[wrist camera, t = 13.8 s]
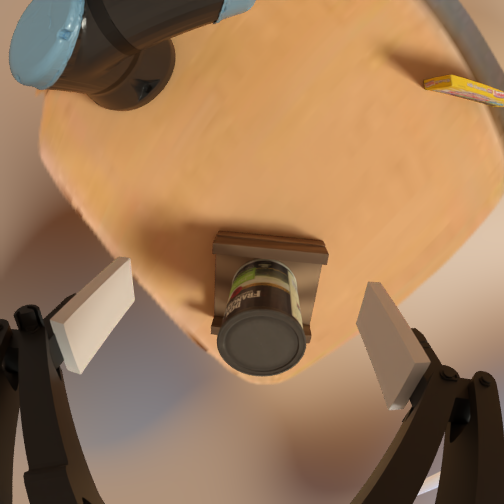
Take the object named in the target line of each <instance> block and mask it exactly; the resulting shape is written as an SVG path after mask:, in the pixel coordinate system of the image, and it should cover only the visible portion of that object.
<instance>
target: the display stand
mask: <svg viewBox="0 0 504 504" xmlns="http://www.w3.org/2000/svg"><path fill="white" fill-rule="evenodd" d="M213 254H216V269H215V308H214V319H213V322H212V325H211V334H214V335H218V332H219V330H220V327H221V325H222V321H223V317H224V313H225V309H226V306H227V302H228V298H229V294H230V291H231V287H232V281H233V278H234V275H235V274H236V272H237V271H238V270H239V268H240V267H241V266H243V265H244V264H246V263H248V262H250V261H252V260H256V259H270V260H276V261H279V262H281V263H283V264H284V265H285V266H287V267H288V268H289V269H290V270H291V271H292V273H293V274H294V276H295V279H296V282H297V291H298V298H299V305H300V311H301V317H302V325H303V330H304V333H305V337H306V343H310V339H311V330H310V321H311V316H312V311H313V307H314V302H315V297H316V292H317V287H318V282H319V277H320V272H321V267H322V264H323V265H327V261H328V256H329V254H328V252H327V250H326V248H325V244H324V242H323V241H318V240H308V239H299V238H289V237H279V236H269V235H258V234H248V233H237V232H226V231H219V232H218V234H217V237H216V238H215V240H214V242H213Z"/></svg>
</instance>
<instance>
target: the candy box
mask: <svg viewBox="0 0 504 504" xmlns="http://www.w3.org/2000/svg"><path fill="white" fill-rule="evenodd" d="M424 87H425V90H430V91H435V92H440V93H444V94H448V95H453V96H457V97H460V98H464V99H468V100H472V101H476V102H479V103H483V104H486V105H489V106H492V107H504V92H503V91H501V90H498V89H495V88H492V87H490V86H487V85H484V84H481V83H478V82H475V81H472V80H469V79H466V78H463V77H459V76H455V75H452V74H451V75H445V76H440V77H435V78H431V79H426V80H424Z"/></svg>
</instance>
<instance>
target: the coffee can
mask: <svg viewBox="0 0 504 504" xmlns="http://www.w3.org/2000/svg"><path fill="white" fill-rule="evenodd" d="M217 347H218V350H219V353H220V355H221V357H222V358H223V359H224V361H225V362H226V363H227V364H228V365H230V366H231V367H232V368H234V369H236V370H237V371H240V372H242V373H245V374H248V375H252V376H272V375H277V374H280V373H283V372H285V371H287V370H289V369H291V368H292V367H294V366H295V365H296V364H297V363H298V362H299V361H300V360H301V358H302V357H303V355H304V352H305V349H306V337H305V333H304V330H303V325H302V317H301V311H300V305H299V298H298V291H297V282H296V279H295V276H294V274H293V273H292V271H291V270H290V269H289V268H288V267H287V266H285V265H284V264H283V263H281V262H279V261H276V260H270V259H256V260H252V261H250V262H248V263H246V264H244V265H243V266H241V267H240V268H239V270H238V271H237V272H236V274H235V275H234V278H233V281H232V287H231V291H230V294H229V298H228V302H227V306H226V309H225V313H224V317H223V321H222V325H221V327H220V330H219V332H218V336H217Z"/></svg>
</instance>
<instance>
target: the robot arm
mask: <svg viewBox="0 0 504 504" xmlns="http://www.w3.org/2000/svg"><path fill="white" fill-rule="evenodd" d="M255 1H256V0H33V1H32V2H31V3H30V4H29V5H28V7H27V8H26V10H25V11H24V13H23V15H22V16H21V18H20V20H19V22H18V24H17V26H16V29H15V31H14V33H13V37H12V40H11V45H10V50H9V65H10V69H11V73H12V75H13V77H14V78H15V79H16V80H17V81H18V82H19V83H21V84H23V85H26V86H32V87H35V88H37V89H39V90H44V89H51V90H61V91H70V92H77V93H83V94H87V95H88V96H89V97H90V98H92V99H93V100H94V101H95V102H96V103H97V104H98V105H100V106H102V107H104V108H106V109H110V110H117V111H129V110H133V109H137V108H139V107H141V106H143V105H145V104H147V103H149V102H150V101H151V100H153V99H154V98H155V97H156V96H157V95H158V94H159V93H160V92H161V91H162V90H163V89H164V87H165V86H166V84H167V83H168V81H169V79H170V77H171V75H172V72H173V69H174V65H175V49H174V45H173V43H172V41H171V39H170V38H173V37H175V36H178V35H180V34H183V33H185V32H188V31H190V30H193V29H196V28H199V27H202V26H204V25H207V24H210V23H213V24H216V23H219V22H220V21H221V20H223V19H226V18H229V17H232V16H235V15H238V14H241V13H244V12H246V11H248V10H249V9H250V8H251V7H252V6H253V5H254V3H255ZM134 301H135V298H134V290H133V281H132V271H131V260H130V258H126V257H118V258H117V259H115V260H114V261H113V262H112V263H111V264H110V265H108V266H107V267H106V268H105V269H104V270H103V271H102V272H100V273H99V274H98V275H97V276H96V277H95V278H94V279H93V280H91V281H90V282H89V283H88V284H87V285H86V286H85V287H84V288H83V289H82V290H80V291H79V292H78V293H77V294H73V295H71V296H69V297H67V298H65V299H64V301H62V302H61V304H59V305H58V306H57V307H56V309H54V310H53V311H52V312H51V313H50V314H48V316H46V318H44V319H42V315H41V312H40V309H39V307H38V306H36V305H25V306H22V307H21V308H19V309H18V310H17V311H16V312H15V313H14V318H15V321H16V323H17V326H18V328H19V330H14V329H11V328H10V326H9V323H8V321H7V320H4V319H0V504H12V476H13V457H14V456H13V455H14V445H15V435H16V427H17V420H18V414H19V408H20V412H21V421H22V429H23V437H24V444H25V450H26V455H27V461H28V465H29V471H27V472H25V473H24V483H25V487H26V491H27V495H28V499H29V502H30V504H105V503H104V502H103V500H102V499H101V497H100V495H99V493H98V491H97V489H96V486H95V483H94V481H93V479H92V476H91V474H90V471H89V469H88V466H87V463H86V460H85V457H84V454H83V452H82V449H81V445H80V442H79V439H78V436H77V433H76V430H75V426H74V422H73V419H72V415H71V411H70V407H69V403H68V398H67V394H66V390H65V384H64V379H63V374H62V370H61V368H60V364H61V363H62V362H63V361H64V362H65V365H66V367H67V369H68V370H69V371H72V372H75V373H78V374H81V373H82V372H83V370H84V369H85V368H86V366H87V365H88V363H89V362H90V360H91V359H92V358H93V356H94V355H95V353H96V352H97V351H98V349H99V348H100V346H101V345H102V344H103V342H104V341H105V339H106V338H107V337H108V335H109V334H110V333H111V331H112V330H113V329H114V327H115V326H116V324H117V323H118V322H119V320H120V319H121V318H122V317H123V315H124V314H125V313H126V311H127V310H128V308H129V307H130V306H131V305H132V303H133V302H134ZM356 324H357V327H358V329H359V332H360V334H361V337H362V339H363V342H364V344H365V347H366V350H367V352H368V355H369V357H370V360H371V362H372V365H373V368H374V371H375V373H376V376H377V379H378V381H379V384H380V387H381V390H382V393H383V395H384V399H385V401H386V404H387V407H388V410H397V409H404V407H405V406H406V404H407V402H408V401H409V399H410V402H411V404H412V407H411V409H410V410H409V412H408V413H407V415H406V416H405V418H404V419H403V421H402V422H403V423H402V425H401V427H400V429H399V431H398V432H397V434H396V436H395V438H394V440H393V441H392V443H391V445H390V446H389V448H388V450H387V451H386V453H385V455H384V456H383V458H382V459H381V461H380V462H379V464H378V465H377V467H376V468H375V470H374V471H373V473H372V475H371V476H370V477H369V479H368V480H367V482H366V483H365V484H364V486H363V487H362V489H361V490H360V491H359V493H358V494H357V495H356V497H355V498H354V499H353V500H352V502H351V503H350V504H413V502H414V500H415V498H416V496H417V495H418V493H419V491H420V489H421V487H422V485H423V483H424V481H425V478H426V476H427V474H428V472H429V470H430V467H431V465H432V463H433V461H434V458H435V456H436V453H437V451H438V448H439V446H440V443H441V441H442V438H443V435H444V432H445V439H444V450H443V459H442V467H441V474H440V480H439V486H438V492H437V497H436V501H435V504H504V431H503V422H502V414H501V407H500V401H499V395H498V390H497V384H496V381H495V379H494V378H493V377H492V375H490V374H489V373H487V372H483V371H478V372H476V373H475V375H474V376H473V377H472V379H464V378H460V377H459V375H458V373H457V372H456V371H455V370H454V369H453V368H451V367H449V366H446V365H442V364H441V362H440V361H439V359H438V357H437V356H436V354H435V353H434V351H433V350H432V348H431V346H430V345H429V343H427V340H426V338H425V337H424V335H423V334H422V333H421V332H419V331H418V330H417V329H416V328H410V327H409V325H408V323H407V322H406V320H405V319H404V317H403V316H402V314H401V313H400V311H399V309H398V308H397V306H396V305H395V303H394V302H393V300H392V299H391V297H390V296H389V294H388V293H387V291H386V290H385V289H384V287H383V286H382V284H381V283H379V282H368V284H367V288H366V291H365V295H364V298H363V302H362V305H361V309H360V312H359V316H358V319H357V322H356Z"/></svg>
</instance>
